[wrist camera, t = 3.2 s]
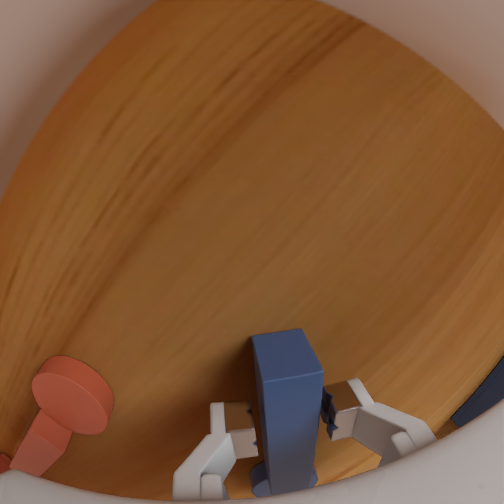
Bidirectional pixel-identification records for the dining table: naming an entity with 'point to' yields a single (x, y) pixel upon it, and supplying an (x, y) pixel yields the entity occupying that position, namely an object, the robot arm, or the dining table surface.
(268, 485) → the blue spoon
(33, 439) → the terracotta spoon
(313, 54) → the dining table surface
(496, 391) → the blue tray
